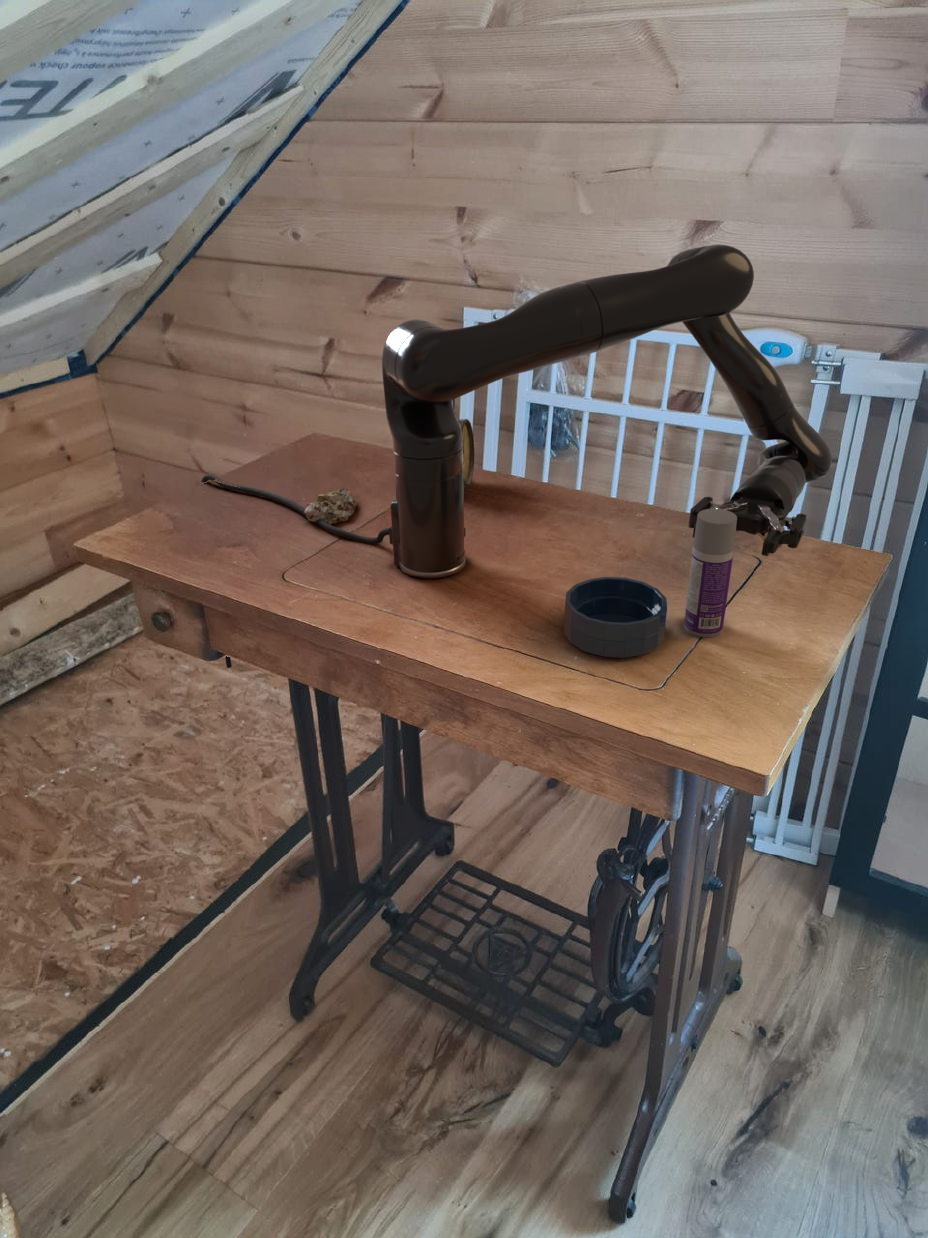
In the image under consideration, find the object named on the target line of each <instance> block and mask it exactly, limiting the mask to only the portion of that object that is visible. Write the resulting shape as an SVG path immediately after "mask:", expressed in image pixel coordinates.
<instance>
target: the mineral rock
mask: <svg viewBox="0 0 928 1238" xmlns="http://www.w3.org/2000/svg"><path fill="white" fill-rule="evenodd" d="M356 507H357V503H356V500H355V499H354V495H353V494H352V491H349V490H348V489H346V488H339V489H335V490H333V491H329V492H327V493H326V494H325V493H324V494H323V493H318V495H317V498H316V499H315V501H313V502H309V503H307V504H306V505H305V506H304V508H305V509H304V514H306V515H307V516H305V515H304V517H305V518H307V520H308V522H309V521H310V522H313V523H316V522H315V521H317V520H319V519H321V520H323V521H325V522H326V523H328V524H330V525H332V524H337V523H340V522H346V521H348V520H349V517H352V515H353V514H354V513H355V511H356Z"/></svg>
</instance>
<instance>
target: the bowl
mask: <svg viewBox="0 0 928 1238" xmlns="http://www.w3.org/2000/svg"><path fill="white" fill-rule="evenodd" d="M667 613H668V601H667V597H666V596H665V594H663V592H662V591H661V590H659V589H658V588H657V587H655V586H653V585H651V584H649V583H647V582H645V581H641V580H637V579H632V578H629V577H618V576H602V577H594V578H589V579H585V580H582V581H581V582H578V583H576V584H573V586H571V587H570V589H568V590H567V591H566V592H565V600H564V620H563V635H564V636H565V637H566V639H567V640H568V642H569V643H570V644H571V645H573V646H574V647H577V648H578V649H580V650H581V651H583V652H586V653H589V654H592V655H594V656H597V657H598V656H599V657H604V658H610V659H623V658H626V659H627V658H632V657H636V656H643V655H645V654H647V653H648V654H649V653H650V652H652V651H654V650H656V649H657V648H659V647H660V645H661V644H662V643H663V641H664V640H665V634H666V633H665V632H666V624H667V623H666V622H667Z"/></svg>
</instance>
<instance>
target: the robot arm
mask: <svg viewBox="0 0 928 1238" xmlns="http://www.w3.org/2000/svg"><path fill="white" fill-rule="evenodd" d="M754 280H755V271H754V267H753V264H752V261H751V260H750V258H749V257H748V256H747V254H745V253H744V252H743V251H742V250H741V249H739V248H736V247H734V246H731V245H728V244H718V243H717V244H710V245H705V246H697V247H693V248H688V249H685V250H683V251H680V252H678V253H677V254H675V255H674V256H673V257H672V258H671V259H670V260H669V261H668V264H666V266H663V267H660V268H655V269H650V270H645V271H638V272H637V271H635V272H634V271H633V272H626V273H618V274H610V275H604V276H597V277H592V278H589V279H588V278H587V279H582V280H578V281H575V282H572V283H568V284H565V285H561V286H557V287H553V288H551V289H549V290H546V291H543V292H541V293H539V294H537V295H535V296H533V297H531V298H529V300H527V301H526V302H524V303H523V304H521V305H520V306H519V307H517V308H515V309H514V310H513V311H511V312H509V313H508V314H506V315H504V316H502V317H500V318H498V319H495V320H491V321H488V322H485V323H479V324H475V325H471V326H465V327H460V328H451V329H445V328H443V327H440V326H439V325H437V324H435V323H434V322H430V321H427V320H424V319H409V320H406V321H403V322H401V323H399V324H398V325H397V326H396V327H394V328H393V329H392V330H391V332H390V333H389V334H388V336H387V338H386V340H385V342H384V345H383V350H382V357H381V372H382V385H383V395H384V396H383V397H384V404H385V406H384V407H385V416H386V421H387V425H388V429H389V432H390V435H391V440H392V450H393V451H392V452H393V467H394V481H395V482H394V483H395V498H396V499H394V500H393V501H391V503H390V518H391V519H390V520H391V526H390V527H387V528H383V529H381V530H380V531H379V532H378V534H377V537H366V536H362V535H357V534H355V533H352V532H349V531H347V530H344V529H341V528H339V527H336V526H334V525H332V524H328V523H326V522H325V521H323V520H321V519H319V520H317V521H315V522H314V523H316V524H317V525H318V526H320V527H321V528H323V529H324V530H327V531H328V532H330V533H332V534H335V535H338V536H340V537H342V538H345V539H347V540H350V541H354V542H358V543H361V544H362V543H363V544H367V545H378V544H380V543H382V542H383V541H384V539H385V537H386V536H388V537H389V544H390V545H392V551H393V565H394V566H396V567H399V568H400V570H401V571H402V572H404V573H405V574H407V575H409V576H412V577H415V578H421V579H440V578H446V577H450V576H453V575H456V574H457V573H460V572H461V571H462V570H463V569H465V566H466V550H465V538H466V536H467V535H466V527H465V502H464V501H465V496H464V495H465V494H464V493H465V492H464V486H463V448H462V430H461V426H460V424H459V422H458V420H457V419H458V418H457V416H456V415H455V413H456V412H455V409H453V399H455V400H456V399H458V398H460V397H462V396H466V395H467V394H470V393H471V392H473V391H476V390H478V389H481V388H483V387H485V386H486V387H487V386H488V385H490V384H493V383H495V382H498V381H500V380H503V379H505V378H508V377H511V376H515V375H518V374H522V373H526V372H530V371H534V370H538V369H542V368H544V367H549V366H552V365H554V364H558V363H562V362H567V361H570V360H574V359H577V358H581V357H584V356H587V355H591V354H593V353H597V352H600V351H602V350H605V349H609V348H610V347H611V348H612V347H614V346H617V345H619V344H622V343H624V342H625V343H626V342H629V341H630V340H633V339H636V338H639V337H641V336H643V335H645V334H649V333H651V332H652V331H653V332H654V331H655V330H659V329H660V328H661V329H662V328H663V327H668V326H671V325H674V324H679V323H682V324H683V325H684V326H685V328H686V329H687V330H688V331H689V333H690V334H691V335H692V337H693V338H694V340H695V341H696V343H697V344H698V346H699V347H700V348H701V349H702V351H703V353H704V354H705V355H706V357H707V358H708V360H709V361H710V363H711V364H712V365H713V367H714V368H715V370H716V371H717V373H718V375H719V376H720V378H721V379H722V381H723V382H724V384H725V386H726V388H727V389H728V391H729V393H730V395H731V396H732V398H733V401H734V402H735V404H736V406H737V409H738V410H739V412H740V414H741V416H742V418H743V420H744V422H745V424H746V426H747V427H748V429H749V432H750V433H751V435H752V436H753V438H755V439H757V440H759V441H777V440H779V441H781V442H778V443H776V444H773V445H770V446H768V447H766V448H764V449H763V450H762V451H761V452H759V454H758V455H757V460H756V464H757V467H756V468H757V469H756V470H755V471H753V472H752V473H751V474H750V475H749V476H748V477H747V478H746V479H745V480H744V481H743V482H742V484H741V485H740V486H739V487H738V488H737V489H736V491H735V492H734V493H733V495H732V496H731V498H730V499H729V501H726V502H723V503H722V504H719V503H714V502H713V500H714V499H713V497H712V496H704V497H703V498H702V499H700V500H699V501H698V502H697V503H695V505H693V506H692V507H691V509H690V511H689V519H688V527H689V528H690V529H692V538H693V539H694V537H695V530H696V523H697V516H698V513H699V512H700V511H702V510H705V509H723V510H727V511H730V512H732V513H734V514H735V515H736V516H737V523H736V532H745V533H747V534H749V535H754V536H759V538H760V539H761V540H762V541H763V543H762V549H761V556H764V557H768V556H769V555H770V554H772V555H773V554H775V553H776V552H777V551H778V549H779V548H781V547H782V546H783V545H787V548H790V549H798V546H799V544H800V542H801V540H802V538H803V535H804V532H805V527H806V522H807V514H804V513H797V514H796V516H791V517H789V516H788V515H789V514H790V513H791V512H792V511H793V509H794V507H795V504H796V503H797V500H798V498H799V496H800V495H801V494H802V492H803V490H804V488H805V485H806V484H807V483H810V482H813V481H814V482H815V481H816V480H820V479H822V478H824V477H825V476H827V474H829V472H830V469H831V467H832V462H833V459H832V458H833V457H832V453H831V450H830V447H829V445H828V444H827V442H826V440H824V438H823V437H822V436H821V434H820V433H818V432H817V431H816V429H815V428H813V426H811V424H810V423H809V422H808V421H807V420H806V419H805V418H804V416H802V415H801V413H800V412H799V411H798V409H797V408H796V406H795V405H794V403H793V400H792V399H791V396H790V394H789V392H788V390H787V388H786V386H785V384H784V382H783V380H782V378H781V376H780V375H779V373H778V371H777V370H776V368H775V367H774V366H773V364H771V362H769V360H768V359H767V358H766V357H765V356H764V355H763V354H762V352H760V350H758V348H757V347H755V345H754V344H753V343H752V342H751V341H750V340H749V339H748V338H747V337H746V335H744V333H743V332H742V330H741V329H740V327H739V326H738V325H737V323H736V322H735V320H734V319H733V317H732V314H731V312H734V311H735V310H736V309H738V308H739V307H740V306H741V305H742V304H743V303H744V302H745V300H746V299H747V298H748V296H749V295H750V292H751V290H752V287H753V284H754ZM454 412H455V413H454ZM217 478H218V477H217V476H216V475H214V474H210V473H209V474H206V475H203V477H202V478H201V480H200V483H207V482H209V481H212V482H214V483H215V484H217V485H218V486H220V487H222V488H224V489H227V490H231V491H236V492H241V493H246V494H247V493H248V494H251V495H256V496H260V497H263V498H266V499H270V500H272V501H275V502H277V503H280V504H282V505H285V506H287V507H289V508H291V509H293V510H295V511H297V512H298V513H300V514H302V515H303V516H304V517H305V516H307V515H306V514H304V509H305V507H303V506H301V505H300V504H298V503H296V502H295V501H292V500H290V499H288V498H285V497H283V496H281V495H278V494H275V493H274V492H273V493H272V492H269V491H266V490H263V489H259V488H254V487H250V486H244V485H241V484H240V485H239V484H236V485H237V486H238V487H234V486H230V485H226V484H222V483H218V482H215V481H213V480H215V479H217ZM219 480H222V479H220V478H219V479H218V481H219ZM222 481H223V480H222ZM222 481H221V482H222ZM231 484H232V485H234V483H231ZM239 487H240V488H239ZM785 527H786V528H787V529H785ZM224 659H225V665H226V668H227V669H231V668H232V666H233V665H232V659H231V656H230V657H227V656H226V657H225V656H224Z"/></svg>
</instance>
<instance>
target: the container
mask: <svg viewBox="0 0 928 1238" xmlns="http://www.w3.org/2000/svg"><path fill="white" fill-rule="evenodd" d="M736 523H737V516H736V515H735V514H734V513H732V512H730V511H727V510H723V509H705V510H702V511H700V512H699V513H698V516H697V523H696V530H695V537H694V538H693V544H692V550H691V551H692V552H691V560H690V567H689V568H690V569H689V576H688V577H689V578H688V585H687V586H688V587H687V594H686V595H687V596H686V603H685V612H684V613H685V614H684V622H683V628H684V630H685V631H686V632H687V633H688V634H690V635H692V636H695V637H699V638H715V637H718V636H720V635H721V634H722V633H723V631H724V630H723V629H724V622H725V618H726V617H725V616H726V608H727V601H728V595H729V587H730V580H731V572H732V564H733V560H734V550H735V541H736V532H737V531H736Z"/></svg>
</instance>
